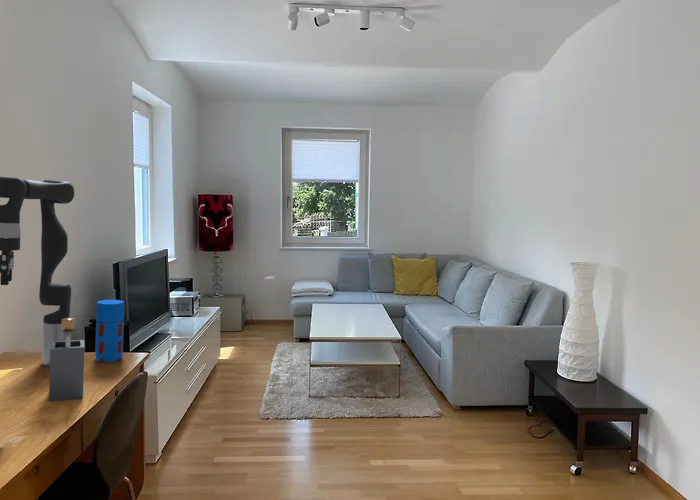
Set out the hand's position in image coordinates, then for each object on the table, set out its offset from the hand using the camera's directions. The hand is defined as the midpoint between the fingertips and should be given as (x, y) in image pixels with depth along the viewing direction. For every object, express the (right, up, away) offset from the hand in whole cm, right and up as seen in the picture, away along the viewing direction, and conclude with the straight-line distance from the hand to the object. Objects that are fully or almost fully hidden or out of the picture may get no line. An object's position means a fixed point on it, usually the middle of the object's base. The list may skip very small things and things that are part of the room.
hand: (6, 283), depth 167 cm
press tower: (+19, -39, +3) cm, 44 cm away
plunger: (+19, -38, +3) cm, 43 cm away
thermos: (+13, -36, +45) cm, 59 cm away
